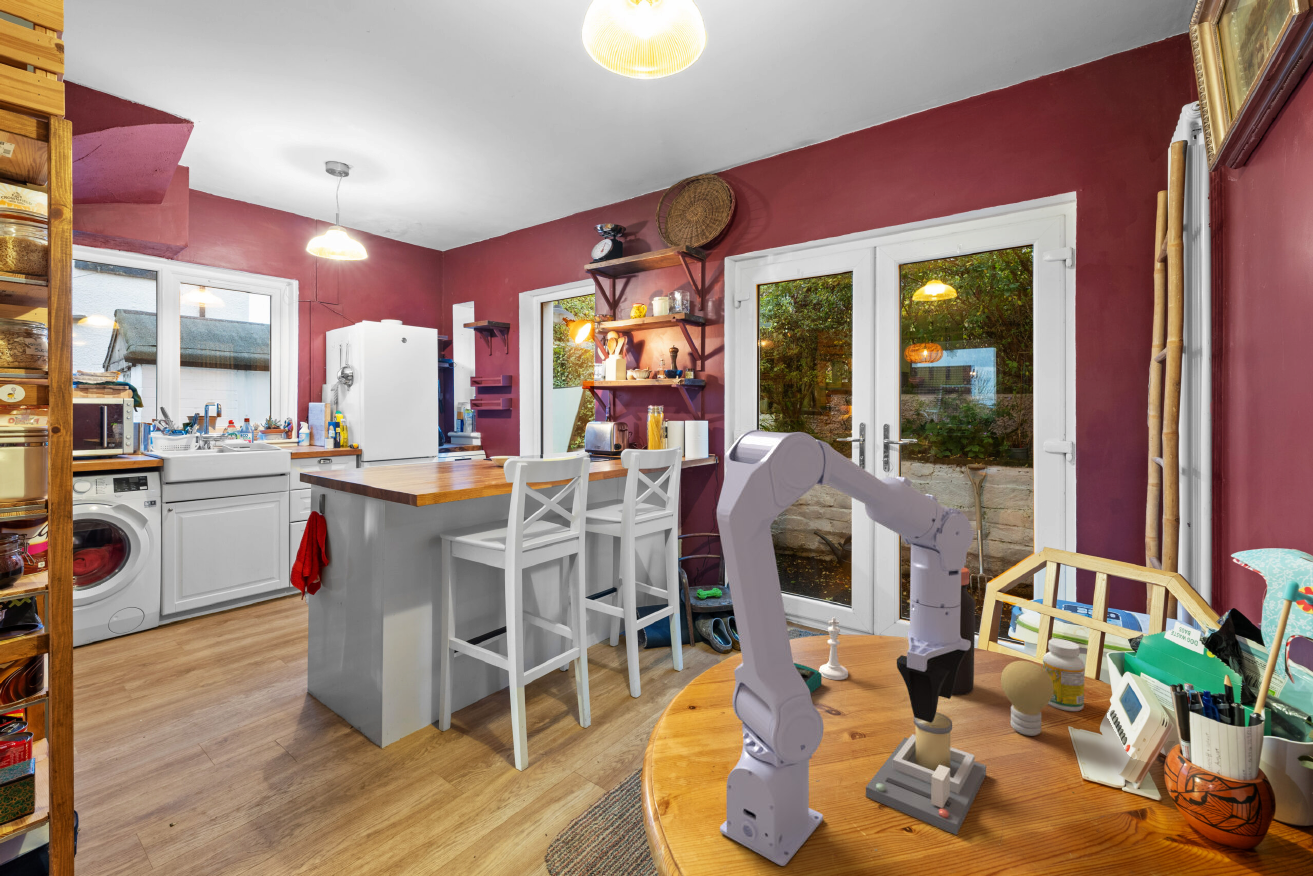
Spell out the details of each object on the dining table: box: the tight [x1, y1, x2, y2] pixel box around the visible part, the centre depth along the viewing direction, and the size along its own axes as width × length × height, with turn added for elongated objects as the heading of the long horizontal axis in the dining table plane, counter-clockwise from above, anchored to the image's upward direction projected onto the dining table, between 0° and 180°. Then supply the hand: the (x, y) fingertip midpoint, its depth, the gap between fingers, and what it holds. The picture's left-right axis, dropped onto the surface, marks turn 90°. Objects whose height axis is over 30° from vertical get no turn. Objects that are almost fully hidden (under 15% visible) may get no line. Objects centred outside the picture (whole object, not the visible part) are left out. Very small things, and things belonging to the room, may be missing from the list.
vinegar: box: [952, 566, 976, 696], centre depth 98 cm, size 7×7×20 cm
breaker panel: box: [865, 733, 987, 836], centre depth 73 cm, size 14×10×2 cm
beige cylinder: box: [913, 711, 953, 771], centre depth 75 cm, size 4×4×6 cm
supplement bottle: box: [1042, 638, 1086, 712], centre depth 93 cm, size 5×5×10 cm
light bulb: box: [1000, 660, 1053, 737], centre depth 85 cm, size 6×6×10 cm
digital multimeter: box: [793, 662, 823, 695], centre depth 96 cm, size 8×15×3 cm, turn 143°
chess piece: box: [818, 616, 849, 681], centre depth 104 cm, size 5×5×10 cm
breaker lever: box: [931, 765, 950, 808], centre depth 68 cm, size 3×1×3 cm, turn 139°
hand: (933, 707), depth 74 cm, fingers open, 7 cm apart
